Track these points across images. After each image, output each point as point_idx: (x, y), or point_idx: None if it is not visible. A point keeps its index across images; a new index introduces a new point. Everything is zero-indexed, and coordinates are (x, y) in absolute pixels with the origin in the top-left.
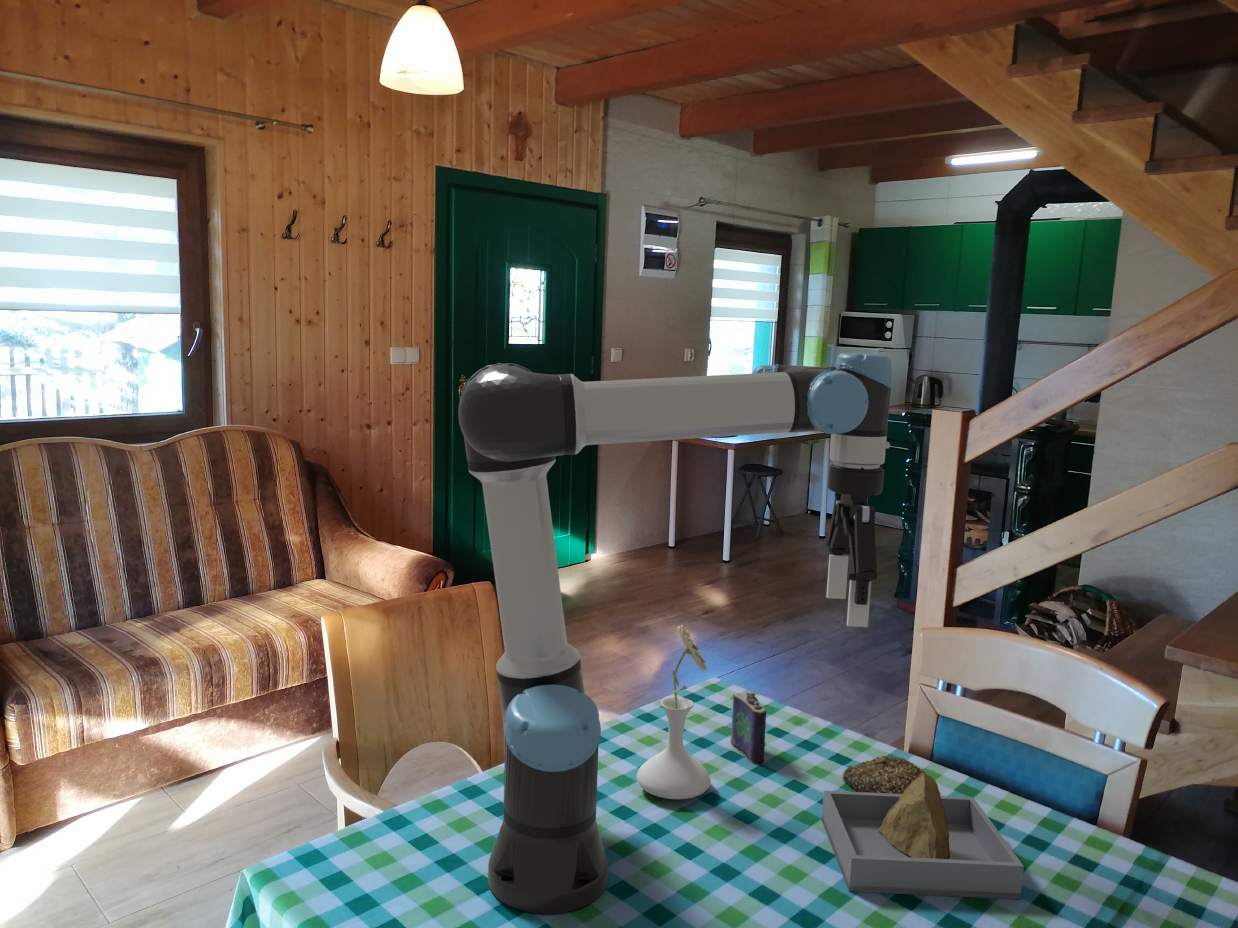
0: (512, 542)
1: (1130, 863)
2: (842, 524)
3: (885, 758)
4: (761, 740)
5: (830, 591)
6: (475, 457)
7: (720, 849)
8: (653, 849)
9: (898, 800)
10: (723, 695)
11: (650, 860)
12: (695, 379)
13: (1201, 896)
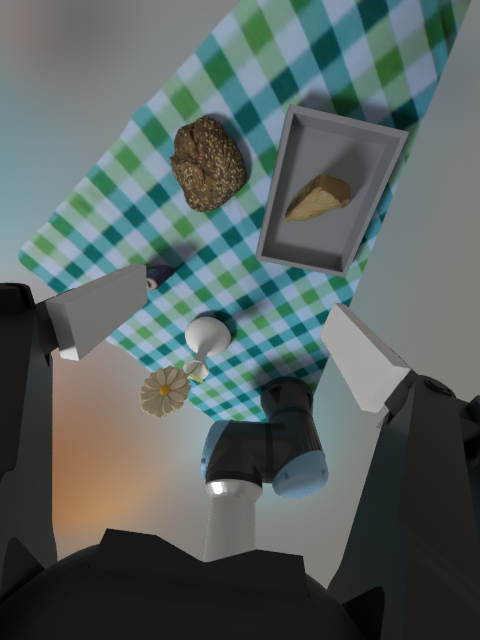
0: None
1: None
2: (46, 560)
3: (196, 166)
4: (167, 275)
5: (139, 303)
6: None
7: (278, 326)
8: (271, 355)
9: (296, 208)
10: (43, 259)
11: (280, 358)
12: None
13: None
